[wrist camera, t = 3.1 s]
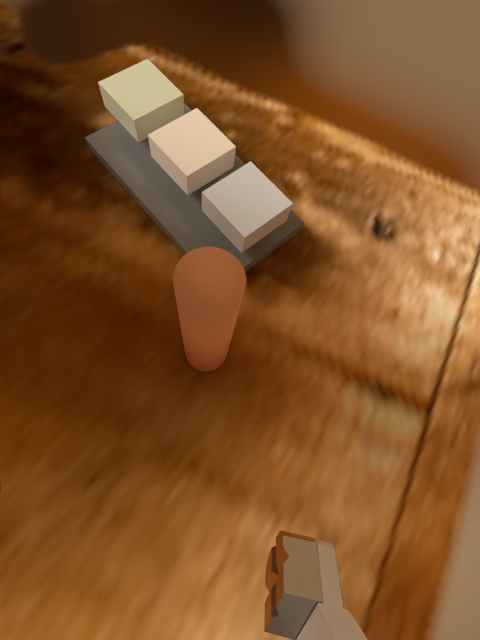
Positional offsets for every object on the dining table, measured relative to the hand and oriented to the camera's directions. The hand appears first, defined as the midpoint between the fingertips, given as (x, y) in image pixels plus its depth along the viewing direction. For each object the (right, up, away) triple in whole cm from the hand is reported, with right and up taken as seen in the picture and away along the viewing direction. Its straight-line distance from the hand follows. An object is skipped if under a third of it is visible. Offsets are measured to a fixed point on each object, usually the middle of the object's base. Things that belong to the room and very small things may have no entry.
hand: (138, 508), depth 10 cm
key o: (-5, +22, +18) cm, 29 cm away
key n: (+3, +13, +16) cm, 21 cm away
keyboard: (-1, +16, +20) cm, 26 cm away
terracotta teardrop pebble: (+1, +3, +16) cm, 16 cm away
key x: (-1, +17, +17) cm, 24 cm away
